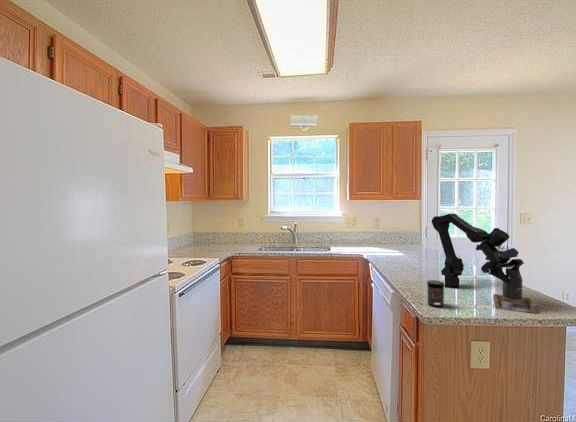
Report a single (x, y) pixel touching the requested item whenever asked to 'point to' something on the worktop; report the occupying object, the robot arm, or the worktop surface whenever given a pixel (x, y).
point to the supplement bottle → (513, 284)
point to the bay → (513, 304)
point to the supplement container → (435, 293)
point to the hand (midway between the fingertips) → (515, 282)
